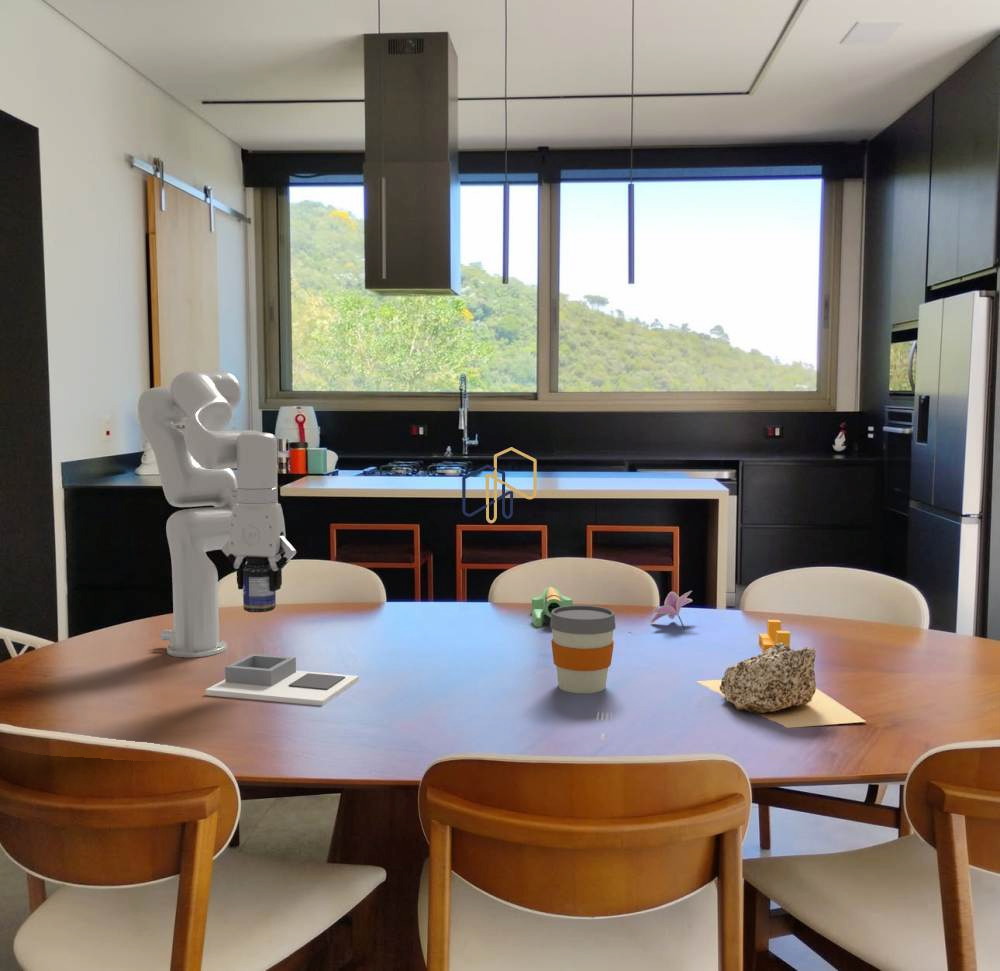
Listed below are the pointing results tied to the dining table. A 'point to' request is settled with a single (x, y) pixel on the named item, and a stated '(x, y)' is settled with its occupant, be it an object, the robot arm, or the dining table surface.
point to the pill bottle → (257, 586)
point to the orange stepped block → (773, 635)
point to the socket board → (279, 681)
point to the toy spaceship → (547, 604)
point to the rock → (781, 689)
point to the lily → (672, 606)
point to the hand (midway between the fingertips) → (259, 588)
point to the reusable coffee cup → (582, 646)
